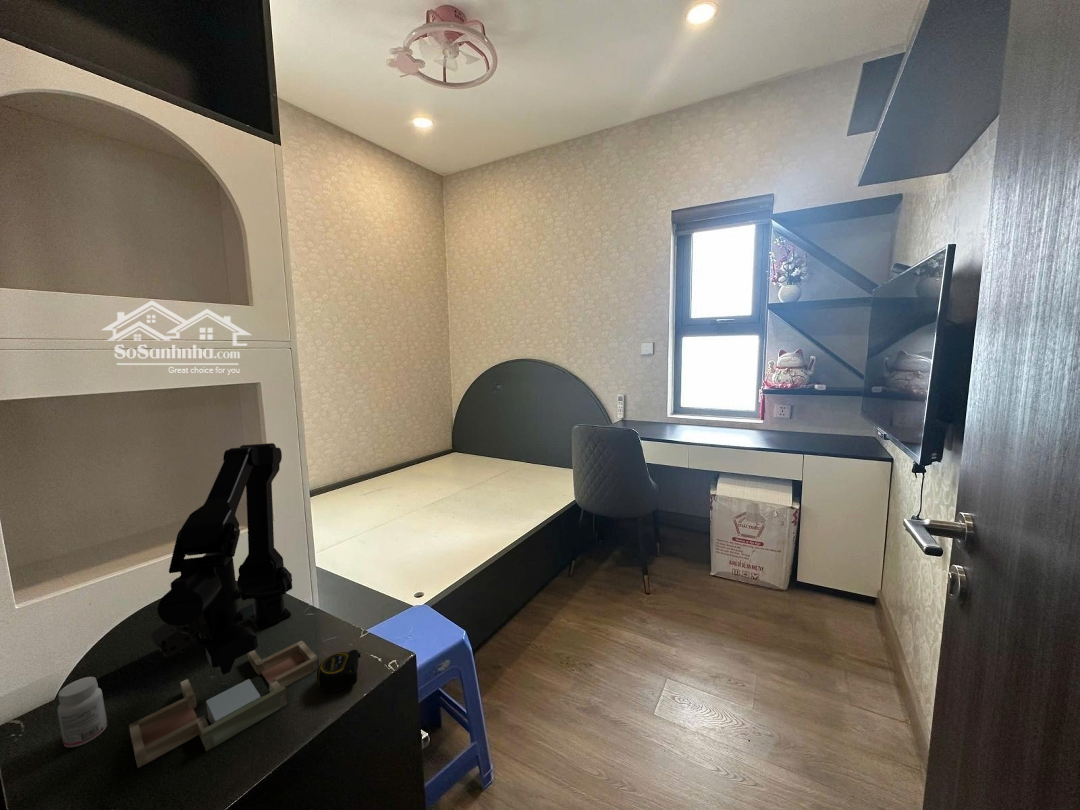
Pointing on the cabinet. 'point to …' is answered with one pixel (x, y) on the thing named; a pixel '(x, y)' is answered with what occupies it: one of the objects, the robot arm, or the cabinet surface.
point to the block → (231, 701)
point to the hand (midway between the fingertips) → (225, 672)
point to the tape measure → (338, 671)
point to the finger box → (182, 723)
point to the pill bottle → (81, 712)
